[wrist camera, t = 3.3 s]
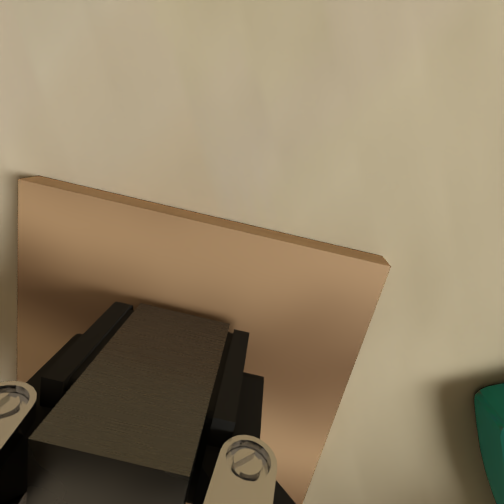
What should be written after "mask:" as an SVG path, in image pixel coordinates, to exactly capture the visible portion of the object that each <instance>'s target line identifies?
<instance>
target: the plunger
mask: <svg viewBox="0 0 504 504" xmlns="http://www.w3.org/2000/svg"><path fill="white" fill-rule="evenodd" d="M229 326H230V324H228V323H224V322H219V321H215V320H211V319H207V318H202V317H198V316H194V315H190V314H185V313H181V312H177V311H173V310H168V309H164V308H160V307H156V306H151V305H147V304H143V303H140V305H139V306H138V307H137V308H136V309H135V311H134V312H133V313H132V314H131V315H130V317H129V318H128V319H127V320H126V321H125V323H124V324H123V325H122V326H121V327H120V329H119V330H118V331H117V332H116V333H115V335H114V336H113V337H112V338H111V339H110V341H109V342H108V343H107V344H106V345H105V347H104V348H103V349H102V350H101V352H100V353H99V354H98V355H97V356H96V358H95V359H94V360H93V361H92V362H91V364H90V365H89V366H88V367H87V368H86V370H85V371H84V372H83V373H82V374H81V376H80V377H79V378H78V379H77V380H76V382H75V383H74V384H73V385H72V386H71V388H70V389H69V390H68V391H67V392H66V394H65V395H64V396H63V397H62V398H61V400H60V401H59V402H58V403H57V404H56V406H55V407H54V408H53V409H52V411H51V412H50V413H49V414H48V415H47V417H46V418H45V419H44V420H43V421H42V423H41V424H40V425H39V426H38V427H37V429H36V430H35V431H34V432H33V433H32V435H31V436H30V437H29V438H28V470H27V504H186V501H187V497H188V493H189V488H190V484H191V479H192V475H193V470H194V466H195V461H196V457H197V452H198V448H199V443H200V439H201V435H202V430H203V426H204V421H205V417H206V413H207V409H208V405H209V402H210V398H211V394H212V390H213V386H214V383H215V379H216V375H217V371H218V368H219V364H220V360H221V356H222V353H223V349H224V345H225V341H226V337H227V334H228V331H229Z"/></svg>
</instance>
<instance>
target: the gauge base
mask: <svg viewBox="0 0 504 504" xmlns="http://www.w3.org/2000/svg"><path fill="white" fill-rule="evenodd" d="M390 268H391V266H390V265H389V264H388V262H387V261H386V260H385V259H384V258H383V257H382V256H379V255H375V254H371V253H366V252H362V251H358V250H353V249H349V248H345V247H341V246H336V245H332V244H328V243H324V242H319V241H315V240H311V239H307V238H302V237H298V236H294V235H289V234H285V233H281V232H277V231H272V230H268V229H264V228H260V227H255V226H251V225H247V224H242V223H238V222H234V221H230V220H225V219H221V218H217V217H213V216H208V215H204V214H200V213H196V212H191V211H187V210H183V209H178V208H174V207H170V206H166V205H161V204H157V203H153V202H149V201H144V200H140V199H136V198H131V197H127V196H123V195H119V194H114V193H110V192H106V191H102V190H97V189H93V188H89V187H85V186H80V185H76V184H72V183H67V182H63V181H59V180H55V179H50V178H46V177H42V176H34V177H28V178H22V179H18V291H17V381H20V382H24V383H26V382H27V381H28V380H29V379H30V378H31V377H32V376H33V375H34V374H35V373H36V372H37V371H38V370H39V369H40V368H41V367H42V366H43V365H44V364H45V363H46V362H47V361H48V360H50V359H51V358H52V357H53V356H54V355H55V354H56V353H57V352H58V351H59V350H60V349H61V348H62V347H63V346H64V345H65V344H66V343H67V342H68V341H69V340H70V339H71V338H72V337H73V336H74V335H76V334H79V333H80V334H84V333H85V332H86V331H87V330H88V329H89V327H90V326H91V325H92V324H93V323H94V322H95V321H96V320H97V319H98V318H99V317H100V316H101V315H102V314H103V313H104V312H105V311H106V310H107V309H108V308H109V307H110V306H111V305H112V304H113V303H114V302H121V303H125V304H130V305H133V310H135V309H136V308H137V307H138V306H139V305H140V303H143V304H147V305H151V306H156V307H160V308H164V309H168V310H173V311H177V312H181V313H185V314H190V315H194V316H198V317H202V318H207V319H211V320H215V321H219V322H224V323H228V324H230V326H229V331H228V332H230V333H233V332H234V329H236V330H240V331H245V332H249V340H248V346H247V353H246V359H245V365H244V372H246V373H250V374H254V375H258V376H263V377H264V388H263V403H262V418H261V433H260V440H262V441H263V442H265V443H266V444H267V445H268V446H269V447H270V448H271V450H272V451H273V452H274V454H275V457H276V460H277V475H276V481H277V482H278V483H279V484H280V485H281V486H282V488H283V489H284V490H285V491H286V492H287V494H288V495H289V496H290V497H291V498H292V500H293V501H294V502H295V503H296V504H302V503H303V500H304V498H305V495H306V492H307V490H308V487H309V484H310V482H311V479H312V476H313V474H314V471H315V468H316V466H317V463H318V460H319V458H320V455H321V452H322V450H323V447H324V444H325V442H326V439H327V436H328V434H329V431H330V428H331V425H332V423H333V420H334V417H335V415H336V412H337V409H338V407H339V404H340V401H341V399H342V396H343V393H344V391H345V388H346V385H347V383H348V380H349V377H350V375H351V372H352V369H353V367H354V364H355V361H356V359H357V356H358V353H359V351H360V348H361V345H362V343H363V340H364V337H365V335H366V332H367V329H368V327H369V324H370V321H371V318H372V316H373V313H374V310H375V308H376V305H377V302H378V300H379V297H380V294H381V292H382V289H383V286H384V284H385V281H386V278H387V276H388V273H389V270H390ZM186 504H190V503H186Z"/></svg>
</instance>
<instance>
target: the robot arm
mask: <svg viewBox="0 0 504 504" xmlns="http://www.w3.org/2000/svg"><path fill="white" fill-rule="evenodd" d="M134 311H135V310H133V305H130V304H125V303H121V302H114V303H113V304H112V305H111V306H110V307H109V308H108V309H107V310H106V311H105V312H104V313H103V314H102V315H101V316H100V317H99V318H98V319H97V320H96V321H95V322H94V323H93V324H92V325H91V326H90V327H89V329H88V330H87V331H86V332H85V333H84V334H80V333H79V334H76V335H74V336H73V337H72V338H71V339H70V340H69V341H68V342H67V343H66V344H65V345H64V346H63V347H62V348H61V349H60V350H59V351H58V352H57V353H56V354H55V355H54V356H53V357H52V358H51V359H50V360H48V361H47V362H46V363H45V364H44V365H43V366H42V367H41V368H40V369H39V370H38V371H37V372H36V373H35V374H34V375H33V376H32V377H31V378H30V379H29V380H28V381H27V382H26V383H24V382H20V381H5V382H0V504H27V470H28V438H29V437H30V436H31V435H32V433H33V432H34V431H35V430H36V429H37V427H38V426H39V425H40V424H41V423H42V421H43V420H44V419H45V418H46V417H47V415H48V414H49V413H50V412H51V411H52V409H53V408H54V407H55V406H56V404H57V403H58V402H59V401H60V400H61V398H62V397H63V396H64V395H65V394H66V392H67V391H68V390H69V389H70V388H71V386H72V385H73V384H74V383H75V382H76V380H77V379H78V378H79V377H80V376H81V374H82V373H83V372H84V371H85V370H86V368H87V367H88V366H89V365H90V364H91V362H92V361H93V360H94V359H95V358H96V356H97V355H98V354H99V353H100V352H101V350H102V349H103V348H104V347H105V345H106V344H107V343H108V342H109V341H110V339H111V338H112V337H113V336H114V335H115V333H116V332H117V331H118V330H119V329H120V327H121V326H122V325H123V324H124V323H125V321H126V320H127V319H128V318H129V317H130V315H131V314H132V313H133V312H134ZM248 340H249V332H245V331H240V330H236V329H234V332H233V333H230V332H228V334H227V337H226V341H225V345H224V349H223V353H222V356H221V360H220V364H219V368H218V371H217V375H216V379H215V383H214V386H213V390H212V394H211V398H210V402H209V405H208V409H207V413H206V417H205V421H204V426H203V430H202V435H201V439H200V443H199V448H198V452H197V457H196V461H195V466H194V470H193V475H192V479H191V484H190V488H189V493H188V497H187V501H186V503H190V504H296V503H295V502H294V501H293V500H292V498H291V497H290V496H289V495H288V494H287V492H286V491H285V490H284V489H283V488H282V486H281V485H280V484H279V483H278V482H277V481H276V475H277V460H276V457H275V454H274V452H273V451H272V450H271V448H270V447H269V446H268V445H267V444H266V443H265V442H263V441H262V440H260V433H261V418H262V403H263V388H264V377H263V376H258V375H254V374H250V373H246V372H244V365H245V359H246V353H247V346H248Z"/></svg>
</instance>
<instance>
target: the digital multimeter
mask: <svg viewBox="0 0 504 504" xmlns="http://www.w3.org/2000/svg"><path fill="white" fill-rule="evenodd" d="M474 404H475V414H476V423H477V430H478V437H479V443H480V450H481V454H482V458H483V463H484V467H485V471H486V474H487V478H488V481H489V484H490V487H491V490H492V493H493V496H494V498H495V501H496V504H504V383H502V384H497V385H493V386H488V387H485V388H483V389H481V390H479V391H478V392H477V393H476V395H475V399H474Z"/></svg>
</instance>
